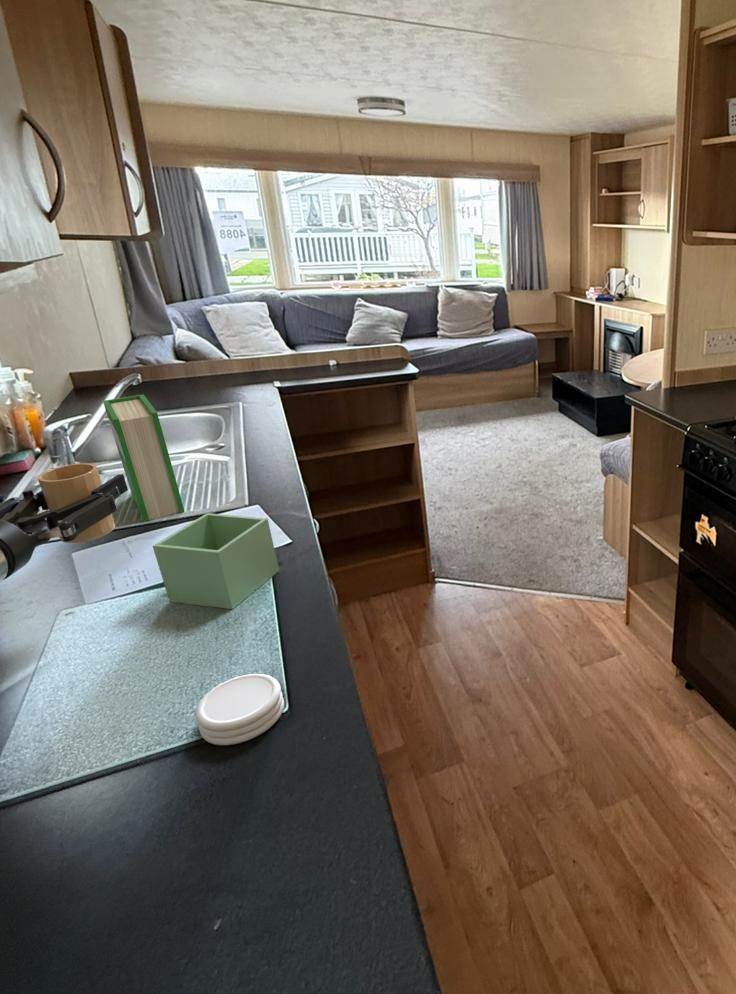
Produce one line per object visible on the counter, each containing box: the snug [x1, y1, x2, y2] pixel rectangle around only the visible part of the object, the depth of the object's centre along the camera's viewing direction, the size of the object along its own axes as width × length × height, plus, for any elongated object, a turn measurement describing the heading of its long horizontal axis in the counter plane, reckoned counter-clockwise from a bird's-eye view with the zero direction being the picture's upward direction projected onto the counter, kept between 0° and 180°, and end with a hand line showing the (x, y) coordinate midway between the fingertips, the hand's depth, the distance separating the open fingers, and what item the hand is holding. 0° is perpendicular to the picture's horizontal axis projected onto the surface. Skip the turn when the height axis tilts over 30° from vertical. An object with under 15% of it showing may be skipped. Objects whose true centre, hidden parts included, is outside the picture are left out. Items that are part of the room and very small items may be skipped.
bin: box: [152, 512, 280, 610], centre depth 114 cm, size 12×12×11 cm
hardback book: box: [102, 394, 186, 523], centre depth 141 cm, size 18×7×24 cm, turn 41°
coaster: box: [195, 673, 285, 746], centre depth 86 cm, size 10×10×4 cm
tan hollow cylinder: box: [37, 462, 116, 544], centre depth 97 cm, size 7×7×10 cm
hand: (97, 483), depth 101 cm, fingers closed on tan hollow cylinder, 7 cm apart
